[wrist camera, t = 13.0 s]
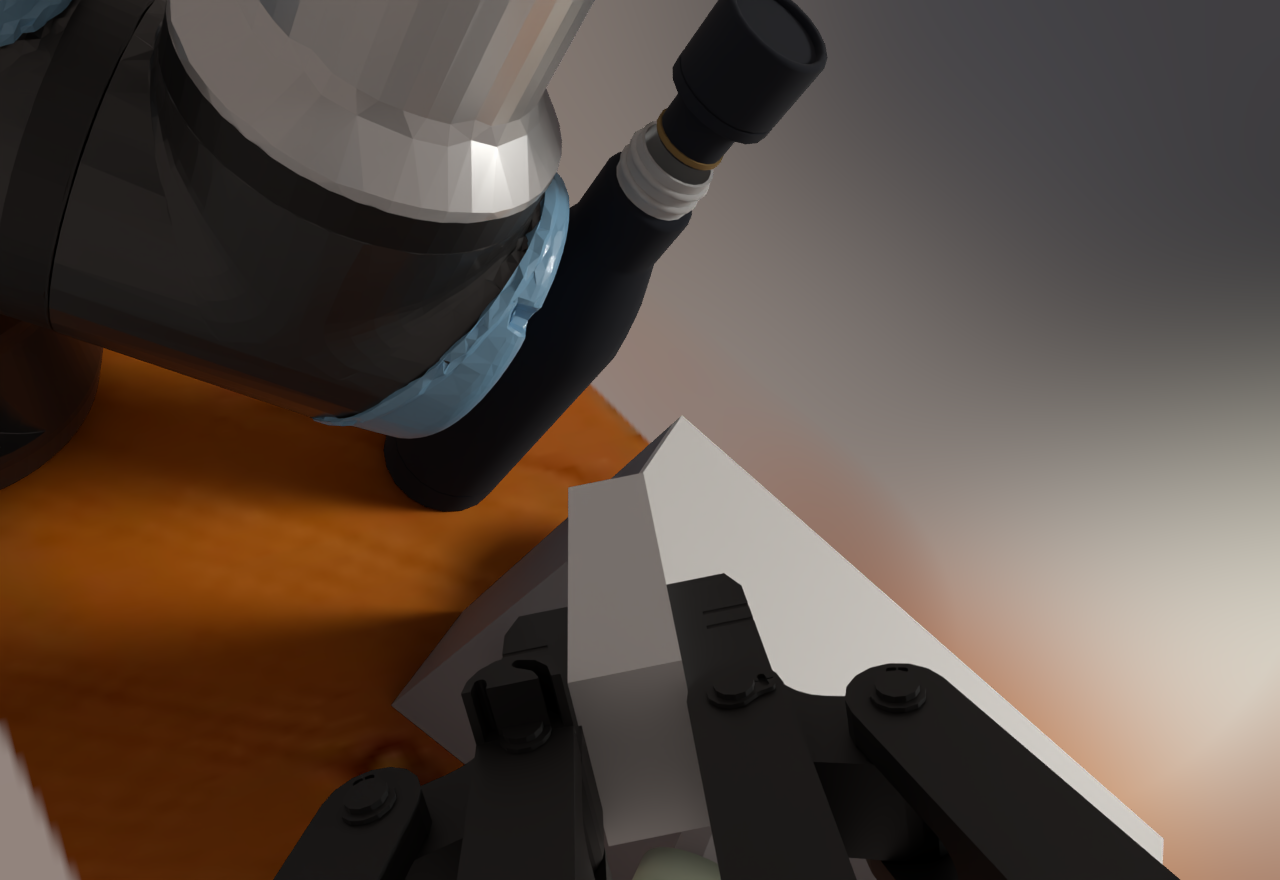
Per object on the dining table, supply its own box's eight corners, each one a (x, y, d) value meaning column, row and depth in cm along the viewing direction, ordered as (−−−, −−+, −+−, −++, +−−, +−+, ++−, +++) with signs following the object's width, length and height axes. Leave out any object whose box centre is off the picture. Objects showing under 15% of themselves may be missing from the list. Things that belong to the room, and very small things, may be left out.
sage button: (705, 967, 34) (788, 960, 31) (604, 887, 34) (677, 870, 30) (744, 864, 37) (824, 847, 34) (652, 789, 37) (723, 763, 33)
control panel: (771, 1009, 45) (1156, 1003, 30) (390, 705, 42) (602, 531, 27) (808, 894, 49) (1163, 838, 34) (463, 611, 46) (681, 415, 31)
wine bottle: (383, 505, 47) (713, 56, 25) (382, 398, 50) (678, -86, 28) (499, 518, 50) (881, 129, 28) (492, 417, 53) (834, -5, 31)
